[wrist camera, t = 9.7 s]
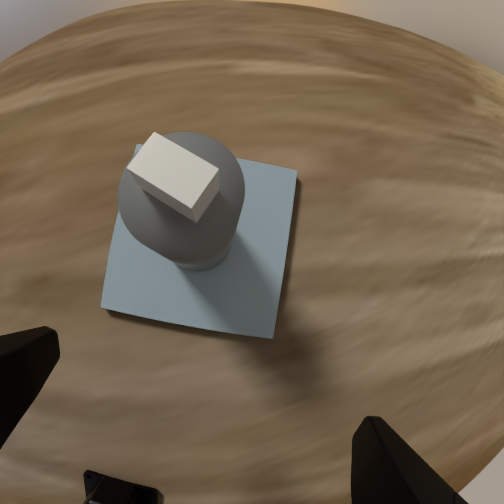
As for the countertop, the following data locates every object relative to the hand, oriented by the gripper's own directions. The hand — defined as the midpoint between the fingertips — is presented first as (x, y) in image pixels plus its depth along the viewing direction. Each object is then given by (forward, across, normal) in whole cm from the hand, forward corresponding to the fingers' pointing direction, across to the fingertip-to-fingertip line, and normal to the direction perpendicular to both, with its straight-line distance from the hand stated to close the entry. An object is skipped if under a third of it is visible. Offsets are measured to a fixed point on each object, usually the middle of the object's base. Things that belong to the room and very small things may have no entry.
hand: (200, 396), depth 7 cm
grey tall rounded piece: (+14, +4, 0) cm, 14 cm away
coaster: (+14, +4, 0) cm, 15 cm away
